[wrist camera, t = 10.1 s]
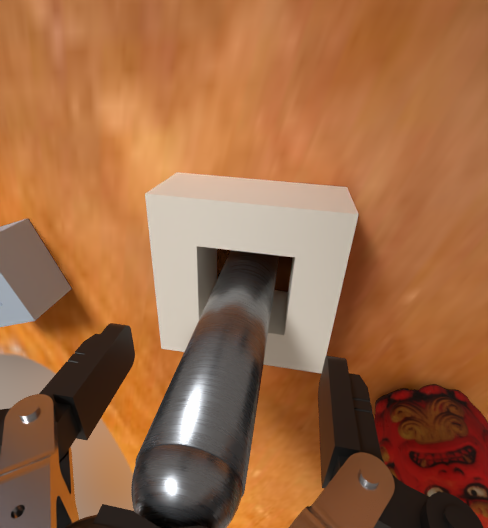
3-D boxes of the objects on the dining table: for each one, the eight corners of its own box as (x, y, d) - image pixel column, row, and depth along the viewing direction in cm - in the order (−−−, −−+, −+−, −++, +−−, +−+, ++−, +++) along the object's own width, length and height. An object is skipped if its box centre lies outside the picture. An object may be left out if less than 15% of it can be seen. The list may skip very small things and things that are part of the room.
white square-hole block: (177, 172, 19) (144, 193, 16) (347, 187, 18) (358, 214, 14) (184, 306, 24) (161, 348, 20) (319, 325, 23) (322, 373, 19)
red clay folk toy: (466, 368, 23) (678, 737, 10) (483, 431, 25) (668, 789, 12) (358, 389, 26) (414, 702, 13) (383, 444, 28) (451, 751, 15)
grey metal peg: (231, 231, 21) (96, 496, 7) (281, 236, 20) (236, 527, 7) (230, 273, 22) (117, 558, 9) (276, 279, 22) (232, 586, 8)
